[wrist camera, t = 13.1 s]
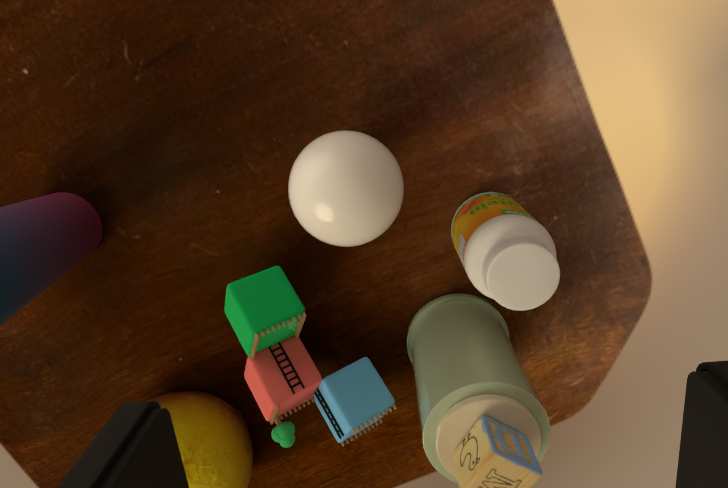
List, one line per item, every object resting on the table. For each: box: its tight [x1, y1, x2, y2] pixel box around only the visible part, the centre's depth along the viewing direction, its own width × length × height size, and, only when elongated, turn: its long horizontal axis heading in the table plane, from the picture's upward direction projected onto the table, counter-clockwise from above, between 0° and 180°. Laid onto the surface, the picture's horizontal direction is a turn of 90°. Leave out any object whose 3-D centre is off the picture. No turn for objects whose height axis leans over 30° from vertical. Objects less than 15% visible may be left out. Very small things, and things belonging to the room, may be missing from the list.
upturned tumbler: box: [406, 294, 551, 484], centre depth 35 cm, size 8×8×12 cm
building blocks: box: [224, 266, 396, 448], centre depth 37 cm, size 8×8×12 cm
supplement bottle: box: [451, 192, 560, 311], centre depth 33 cm, size 5×5×10 cm
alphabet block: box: [453, 416, 542, 488], centre depth 28 cm, size 3×3×3 cm
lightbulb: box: [288, 131, 404, 247], centre depth 31 cm, size 6×6×11 cm
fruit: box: [148, 390, 253, 488], centre depth 41 cm, size 11×10×8 cm
